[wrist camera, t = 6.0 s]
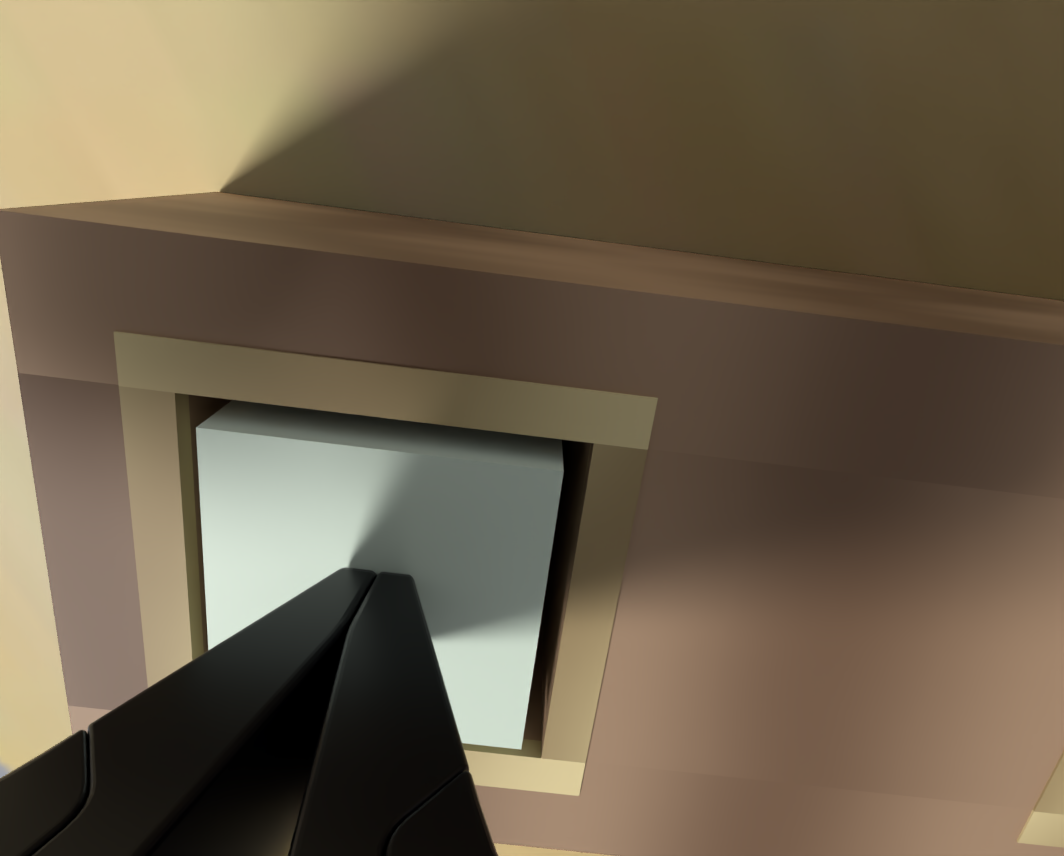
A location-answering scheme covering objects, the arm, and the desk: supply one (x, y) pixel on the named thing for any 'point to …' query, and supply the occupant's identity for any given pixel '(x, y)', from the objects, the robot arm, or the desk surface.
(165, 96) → the desk surface
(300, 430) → the sage peg
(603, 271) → the walnut bar
